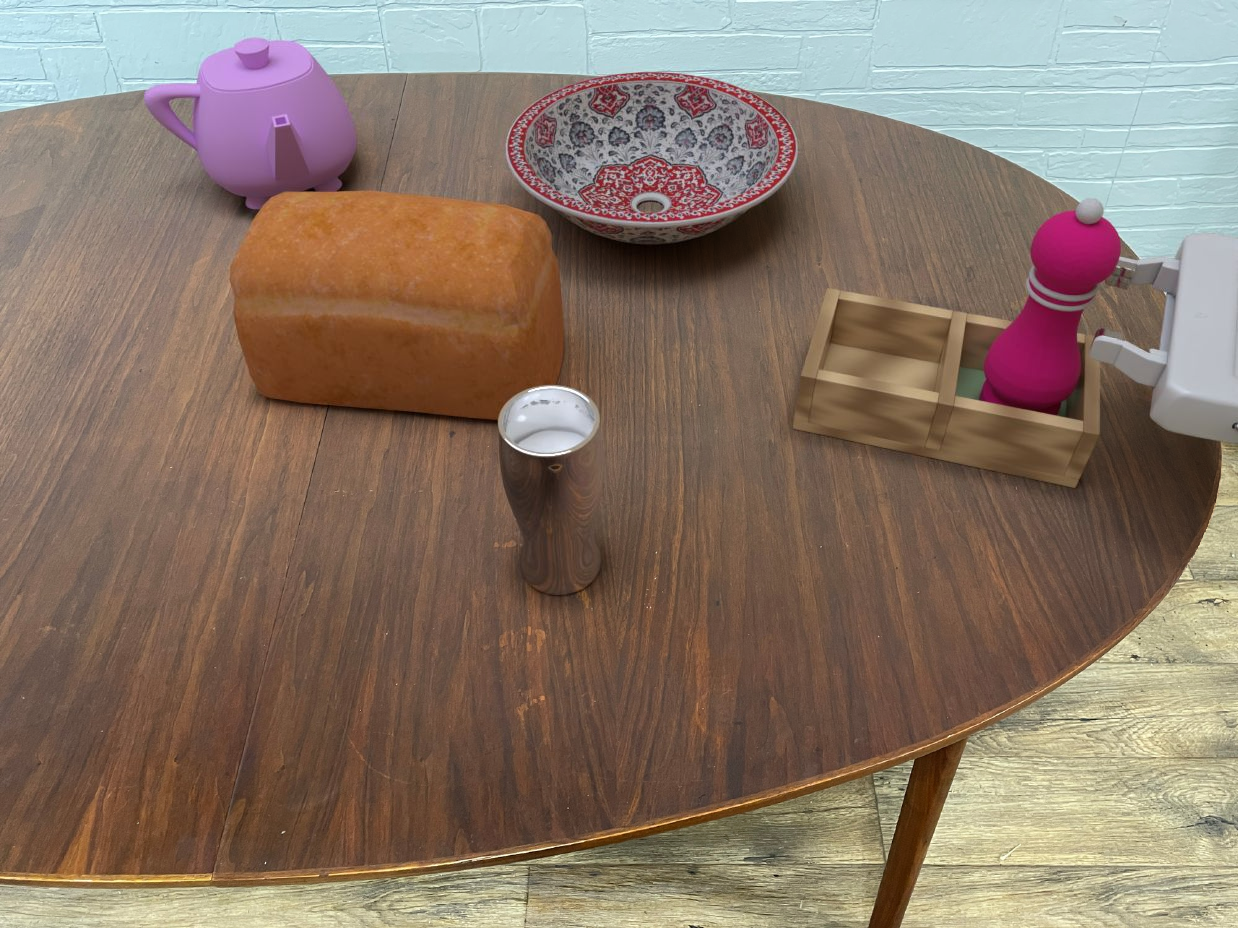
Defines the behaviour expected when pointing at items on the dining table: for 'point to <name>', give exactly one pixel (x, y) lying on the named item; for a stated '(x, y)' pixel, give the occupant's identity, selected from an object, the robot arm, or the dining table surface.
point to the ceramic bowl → (651, 154)
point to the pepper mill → (1052, 312)
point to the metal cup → (554, 484)
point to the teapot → (263, 120)
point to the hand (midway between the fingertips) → (1100, 304)
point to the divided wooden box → (936, 390)
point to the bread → (398, 302)
